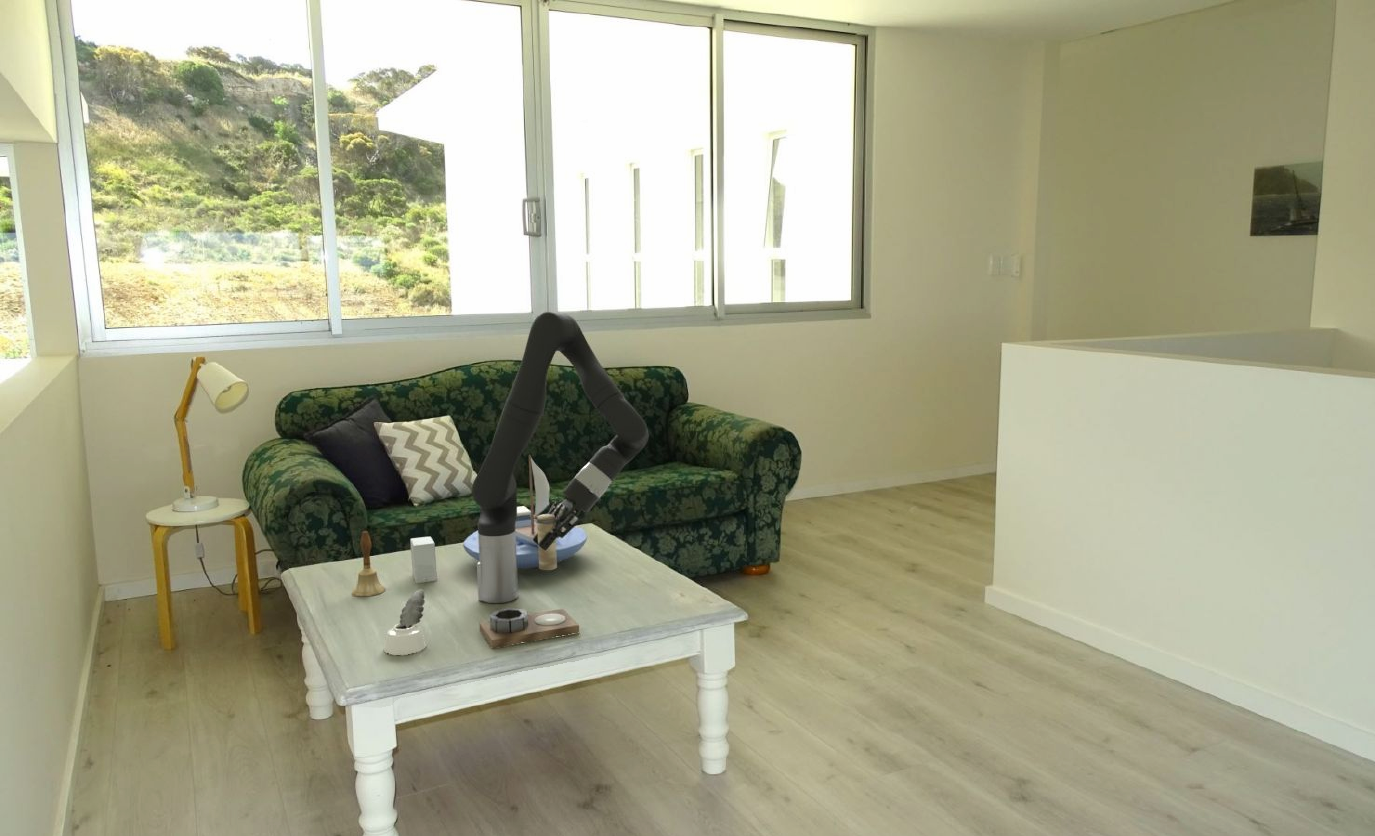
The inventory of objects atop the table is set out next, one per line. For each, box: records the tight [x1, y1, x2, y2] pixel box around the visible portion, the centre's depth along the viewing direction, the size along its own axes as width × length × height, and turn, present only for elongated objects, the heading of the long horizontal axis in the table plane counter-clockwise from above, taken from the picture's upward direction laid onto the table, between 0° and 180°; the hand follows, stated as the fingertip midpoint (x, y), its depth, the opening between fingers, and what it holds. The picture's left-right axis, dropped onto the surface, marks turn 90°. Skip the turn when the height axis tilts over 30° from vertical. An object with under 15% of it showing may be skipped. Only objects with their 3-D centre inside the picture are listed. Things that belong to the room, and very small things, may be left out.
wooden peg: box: [536, 513, 558, 571], centre depth 224 cm, size 4×4×12 cm
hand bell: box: [351, 530, 387, 597], centre depth 254 cm, size 8×8×16 cm
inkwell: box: [383, 589, 427, 656], centre depth 220 cm, size 9×18×10 cm, turn 179°
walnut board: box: [478, 608, 580, 650], centre depth 224 cm, size 20×12×2 cm, turn 115°
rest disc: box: [535, 614, 565, 626], centre depth 226 cm, size 7×7×1 cm
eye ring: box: [489, 607, 529, 634], centre depth 222 cm, size 8×8×3 cm
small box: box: [409, 536, 438, 584], centre depth 265 cm, size 8×6×10 cm
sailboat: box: [462, 454, 588, 570], centre depth 276 cm, size 34×35×32 cm
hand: (538, 545), depth 223 cm, fingers closed on wooden peg, 4 cm apart
